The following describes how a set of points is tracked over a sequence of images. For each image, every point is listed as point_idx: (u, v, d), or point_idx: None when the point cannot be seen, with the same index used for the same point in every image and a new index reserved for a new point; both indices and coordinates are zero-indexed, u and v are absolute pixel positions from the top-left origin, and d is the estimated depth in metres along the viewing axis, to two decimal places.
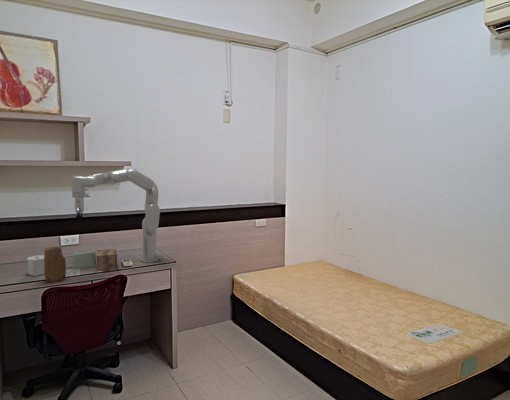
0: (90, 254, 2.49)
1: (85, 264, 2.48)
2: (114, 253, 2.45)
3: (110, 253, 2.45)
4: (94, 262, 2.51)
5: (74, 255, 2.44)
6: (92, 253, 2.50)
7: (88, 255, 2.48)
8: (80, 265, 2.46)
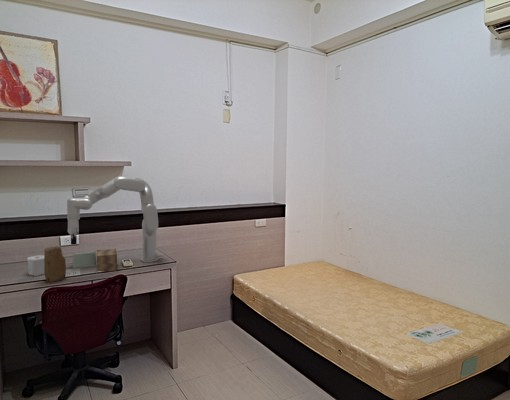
0: (90, 254, 2.49)
1: (85, 264, 2.48)
2: (114, 253, 2.45)
3: (110, 253, 2.45)
4: (94, 262, 2.51)
5: (74, 255, 2.44)
6: (92, 253, 2.50)
7: (88, 255, 2.48)
8: (80, 265, 2.46)
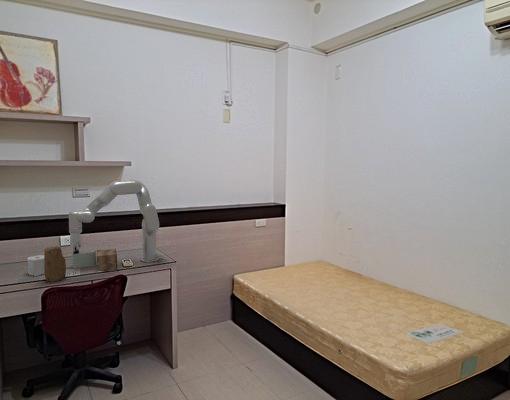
0: (90, 254, 2.49)
1: (85, 264, 2.48)
2: (114, 253, 2.45)
3: (110, 253, 2.45)
4: (94, 262, 2.51)
5: (74, 255, 2.43)
6: (92, 253, 2.50)
7: (88, 255, 2.48)
8: (80, 265, 2.46)
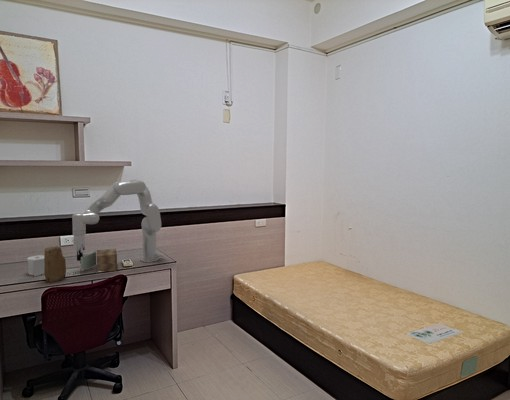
0: (93, 254, 2.48)
1: (90, 265, 2.46)
2: (114, 253, 2.45)
3: (110, 253, 2.45)
4: (95, 262, 2.51)
5: (83, 258, 2.39)
6: (94, 254, 2.49)
7: (91, 256, 2.47)
8: (87, 267, 2.43)
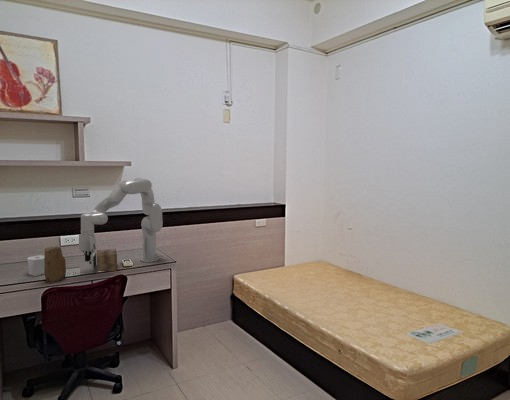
0: (95, 254, 2.48)
1: (95, 265, 2.46)
2: (114, 253, 2.45)
3: (110, 253, 2.45)
4: None
5: (93, 258, 2.39)
6: (95, 253, 2.50)
7: (95, 256, 2.47)
8: (94, 267, 2.43)
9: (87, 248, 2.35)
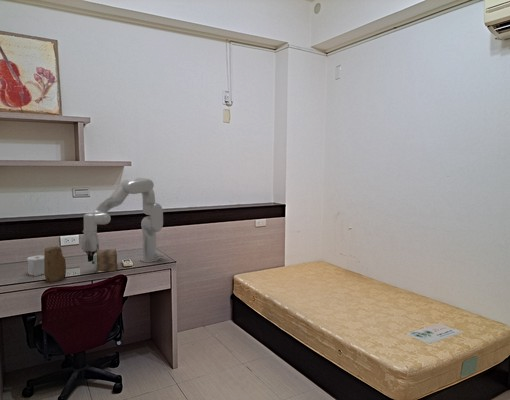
0: None
1: None
2: (114, 253, 2.45)
3: (110, 253, 2.45)
4: None
5: None
6: None
7: None
8: None
9: (91, 248, 2.35)
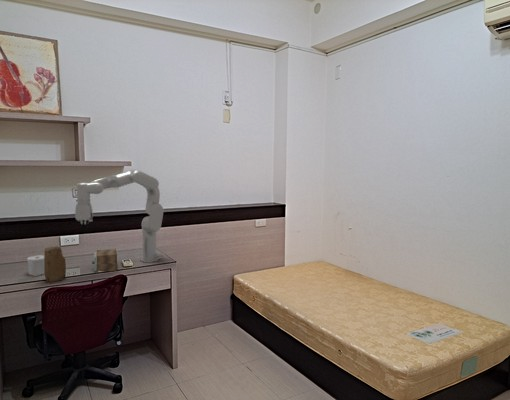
0: None
1: None
2: (114, 253, 2.45)
3: (110, 253, 2.45)
4: None
5: None
6: None
7: None
8: None
9: (85, 217, 2.38)
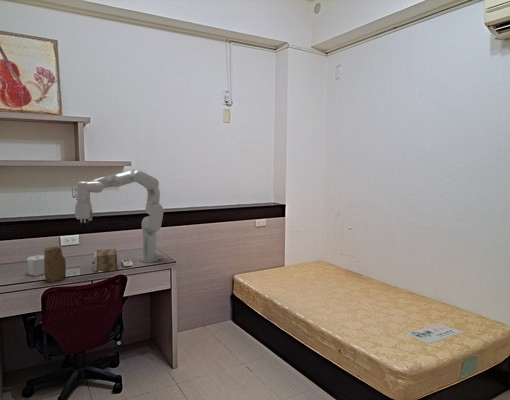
0: None
1: None
2: (114, 253, 2.45)
3: (110, 253, 2.45)
4: None
5: None
6: None
7: None
8: None
9: (84, 215, 2.38)
